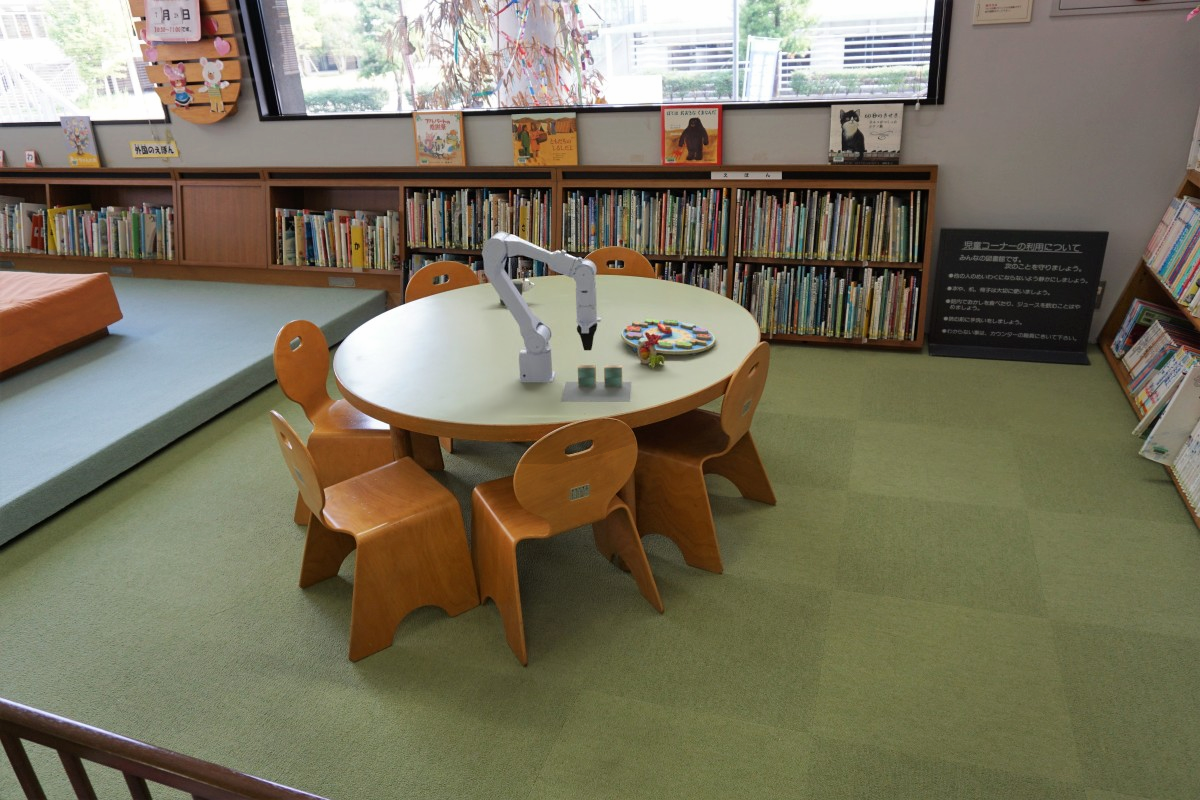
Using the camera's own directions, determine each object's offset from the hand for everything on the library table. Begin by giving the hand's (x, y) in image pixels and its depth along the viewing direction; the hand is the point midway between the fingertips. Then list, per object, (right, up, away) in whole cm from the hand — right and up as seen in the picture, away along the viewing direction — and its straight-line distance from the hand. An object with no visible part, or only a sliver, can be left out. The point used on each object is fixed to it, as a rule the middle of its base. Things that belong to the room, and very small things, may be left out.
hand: (587, 349), depth 233 cm
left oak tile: (0, -11, -2) cm, 11 cm away
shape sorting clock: (+26, +4, +32) cm, 41 cm away
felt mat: (+3, -13, -6) cm, 14 cm away
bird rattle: (+18, -4, +13) cm, 23 cm away
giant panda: (-29, +23, +78) cm, 87 cm away
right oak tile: (+7, -11, -2) cm, 13 cm away
